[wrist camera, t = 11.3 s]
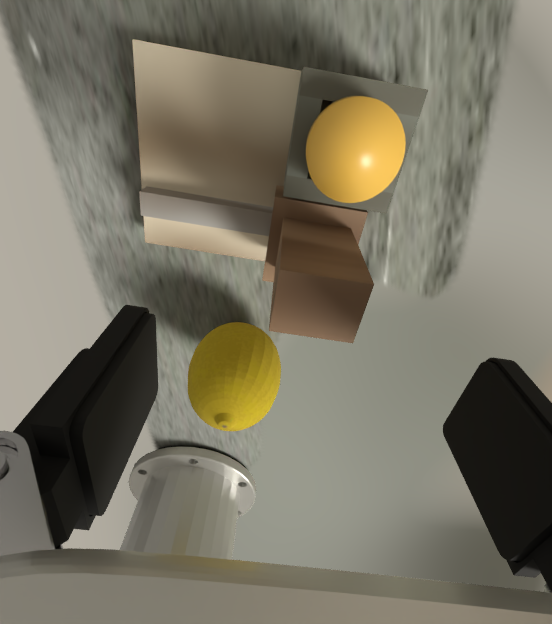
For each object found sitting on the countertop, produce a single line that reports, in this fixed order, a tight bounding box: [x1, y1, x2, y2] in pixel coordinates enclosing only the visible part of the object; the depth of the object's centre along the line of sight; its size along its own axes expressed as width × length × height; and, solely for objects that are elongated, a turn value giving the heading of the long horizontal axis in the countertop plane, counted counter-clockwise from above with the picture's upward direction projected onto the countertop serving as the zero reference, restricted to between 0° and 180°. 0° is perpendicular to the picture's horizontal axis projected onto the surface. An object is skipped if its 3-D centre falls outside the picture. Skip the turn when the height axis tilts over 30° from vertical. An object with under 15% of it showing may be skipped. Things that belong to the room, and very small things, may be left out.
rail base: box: [132, 39, 428, 261], centre depth 16 cm, size 9×12×6 cm
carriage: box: [262, 185, 374, 343], centre depth 15 cm, size 4×4×8 cm
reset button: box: [306, 96, 406, 203], centre depth 13 cm, size 3×3×5 cm
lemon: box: [188, 322, 281, 431], centre depth 21 cm, size 6×6×8 cm
